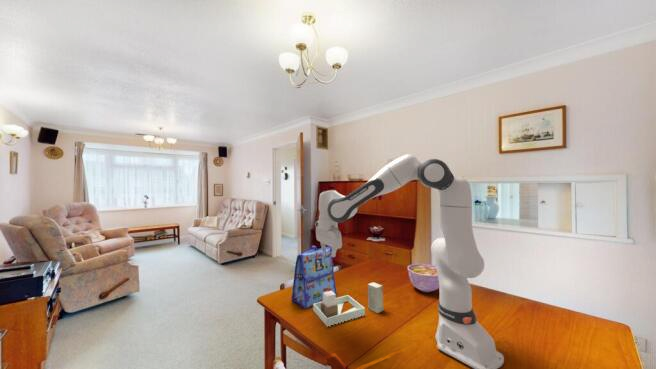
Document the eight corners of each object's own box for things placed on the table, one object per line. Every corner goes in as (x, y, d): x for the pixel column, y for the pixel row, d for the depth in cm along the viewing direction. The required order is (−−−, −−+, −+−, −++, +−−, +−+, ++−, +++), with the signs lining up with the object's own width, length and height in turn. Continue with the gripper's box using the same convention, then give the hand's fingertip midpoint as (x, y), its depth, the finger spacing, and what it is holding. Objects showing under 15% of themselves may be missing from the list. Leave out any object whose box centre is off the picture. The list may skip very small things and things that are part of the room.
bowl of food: (401, 288, 142) (400, 269, 142) (417, 279, 155) (417, 261, 155) (435, 300, 127) (434, 278, 127) (450, 289, 141) (450, 269, 141)
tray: (364, 315, 114) (364, 307, 114) (326, 327, 105) (326, 318, 105) (348, 301, 127) (348, 294, 127) (313, 311, 118) (313, 303, 118)
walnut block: (337, 316, 112) (337, 305, 112) (326, 319, 109) (326, 308, 109) (331, 310, 117) (331, 299, 117) (320, 313, 115) (320, 302, 115)
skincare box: (383, 310, 118) (383, 285, 118) (377, 313, 115) (377, 288, 115) (373, 305, 123) (373, 281, 123) (367, 308, 120) (367, 283, 120)
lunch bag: (305, 310, 119) (305, 251, 119) (290, 300, 129) (290, 246, 129) (337, 296, 133) (337, 244, 133) (322, 288, 144) (321, 240, 144)
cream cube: (327, 307, 110) (327, 296, 110) (322, 303, 114) (322, 292, 114) (335, 305, 112) (335, 294, 112) (331, 300, 116) (331, 290, 116)
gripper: (345, 227, 106) (345, 259, 106) (324, 221, 124) (325, 248, 124) (332, 228, 103) (332, 261, 103) (313, 222, 121) (313, 249, 121)
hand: (328, 254), depth 113 cm, fingers open, 8 cm apart
